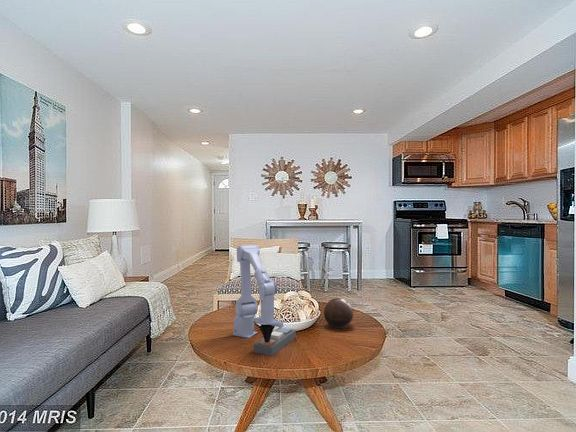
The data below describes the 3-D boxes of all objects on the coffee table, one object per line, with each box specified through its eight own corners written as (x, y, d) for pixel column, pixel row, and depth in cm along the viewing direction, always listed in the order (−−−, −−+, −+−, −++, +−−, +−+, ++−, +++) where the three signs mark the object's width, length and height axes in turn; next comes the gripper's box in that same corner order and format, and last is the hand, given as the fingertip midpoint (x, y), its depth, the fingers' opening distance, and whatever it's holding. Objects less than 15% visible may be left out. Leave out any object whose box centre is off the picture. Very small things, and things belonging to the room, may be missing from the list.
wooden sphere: (355, 332, 172) (355, 302, 172) (325, 332, 173) (325, 302, 172) (350, 322, 187) (350, 295, 187) (322, 322, 188) (322, 295, 187)
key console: (253, 352, 148) (253, 344, 148) (279, 334, 169) (279, 327, 169) (271, 356, 144) (271, 347, 144) (295, 337, 165) (295, 330, 165)
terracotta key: (259, 348, 148) (259, 342, 148) (265, 344, 153) (265, 338, 152) (269, 350, 146) (269, 344, 146) (275, 346, 150) (275, 340, 150)
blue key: (276, 336, 162) (276, 330, 162) (281, 332, 167) (281, 327, 167) (286, 338, 160) (286, 332, 160) (291, 334, 165) (291, 329, 165)
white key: (268, 340, 155) (268, 334, 155) (273, 336, 160) (273, 331, 160) (278, 341, 153) (278, 336, 153) (283, 338, 158) (283, 332, 157)
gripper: (247, 310, 149) (247, 341, 149) (277, 314, 142) (277, 347, 142) (256, 306, 155) (256, 336, 155) (285, 310, 149) (285, 342, 149)
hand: (267, 341), depth 149 cm, fingers closed, pressing on terracotta key
